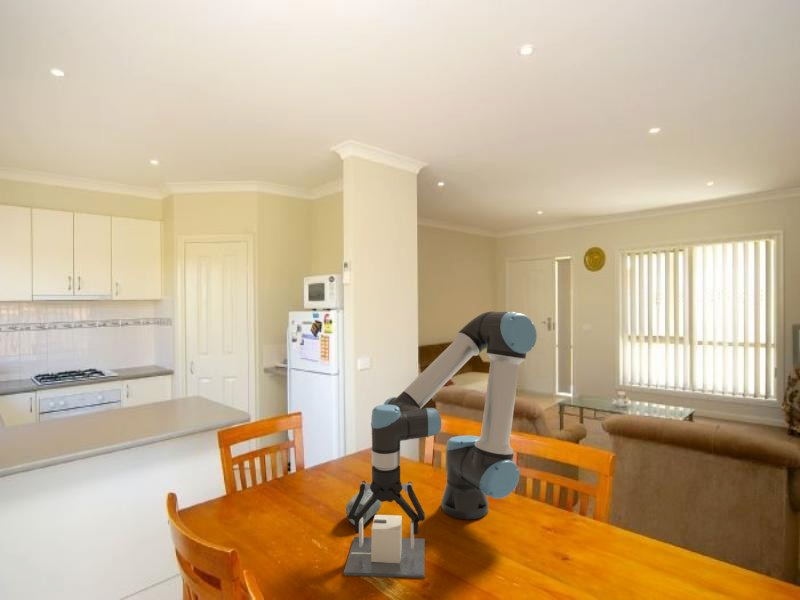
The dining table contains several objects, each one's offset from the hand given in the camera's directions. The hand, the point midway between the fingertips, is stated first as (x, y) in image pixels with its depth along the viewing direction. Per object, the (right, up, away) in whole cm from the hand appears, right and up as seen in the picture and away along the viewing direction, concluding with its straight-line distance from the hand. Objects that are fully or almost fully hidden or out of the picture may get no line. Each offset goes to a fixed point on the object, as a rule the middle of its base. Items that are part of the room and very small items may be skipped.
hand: (386, 545), depth 115 cm
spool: (-8, -4, +20) cm, 22 cm away
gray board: (0, -3, 0) cm, 3 cm away
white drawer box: (0, -2, 0) cm, 2 cm away
